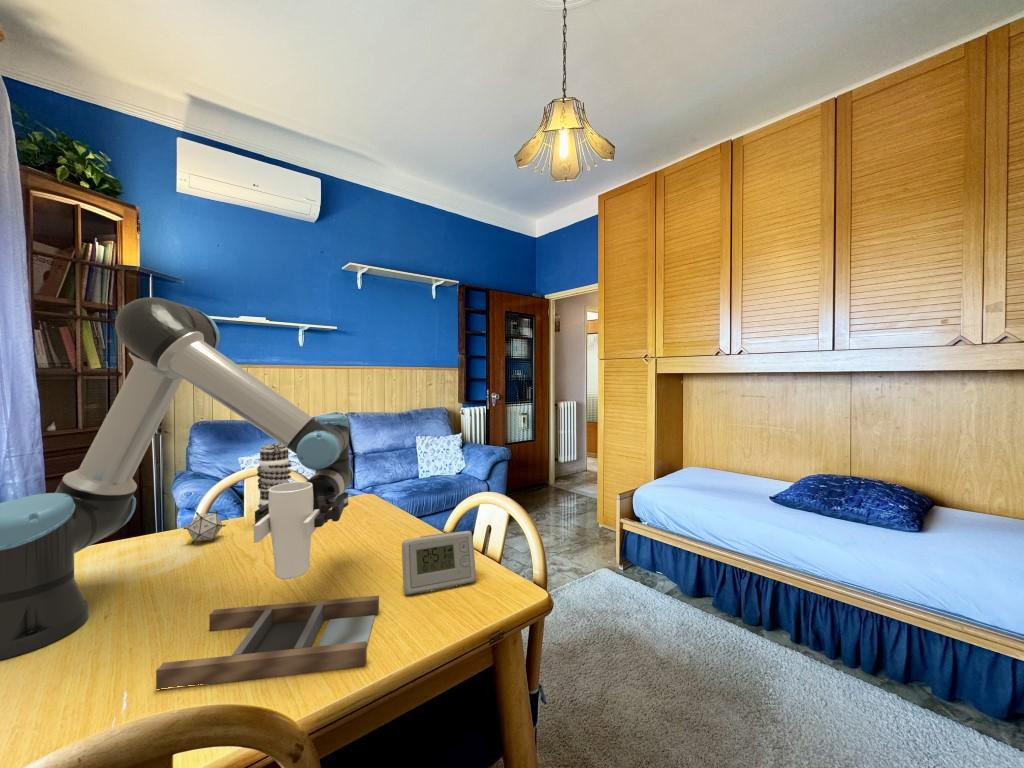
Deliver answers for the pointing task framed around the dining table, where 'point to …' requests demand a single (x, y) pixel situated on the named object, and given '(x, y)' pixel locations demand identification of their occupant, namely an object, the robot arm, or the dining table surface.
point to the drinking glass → (290, 527)
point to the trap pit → (281, 634)
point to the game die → (204, 527)
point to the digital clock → (438, 561)
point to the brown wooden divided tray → (334, 652)
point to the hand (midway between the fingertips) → (281, 532)
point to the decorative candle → (272, 469)
